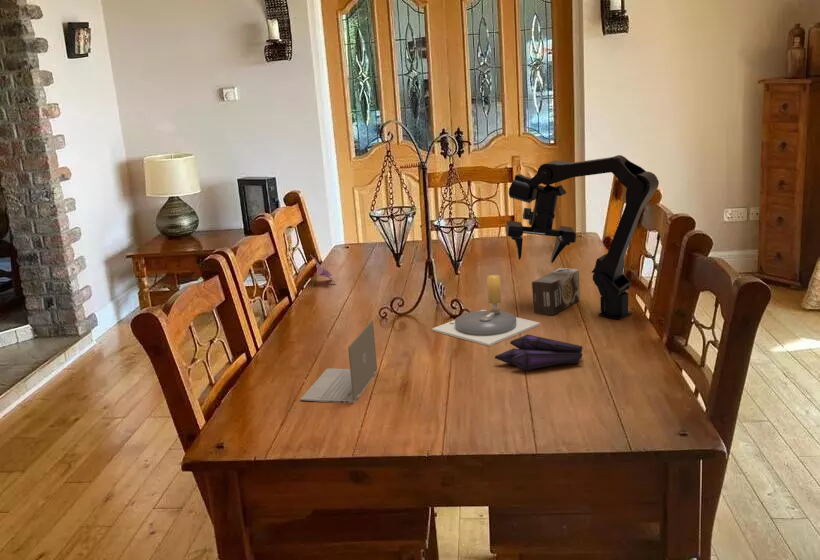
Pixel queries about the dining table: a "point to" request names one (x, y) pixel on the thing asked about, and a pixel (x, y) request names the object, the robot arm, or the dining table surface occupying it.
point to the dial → (487, 315)
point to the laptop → (348, 373)
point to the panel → (486, 339)
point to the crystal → (540, 353)
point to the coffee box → (556, 291)
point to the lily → (322, 271)
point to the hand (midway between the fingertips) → (535, 260)
